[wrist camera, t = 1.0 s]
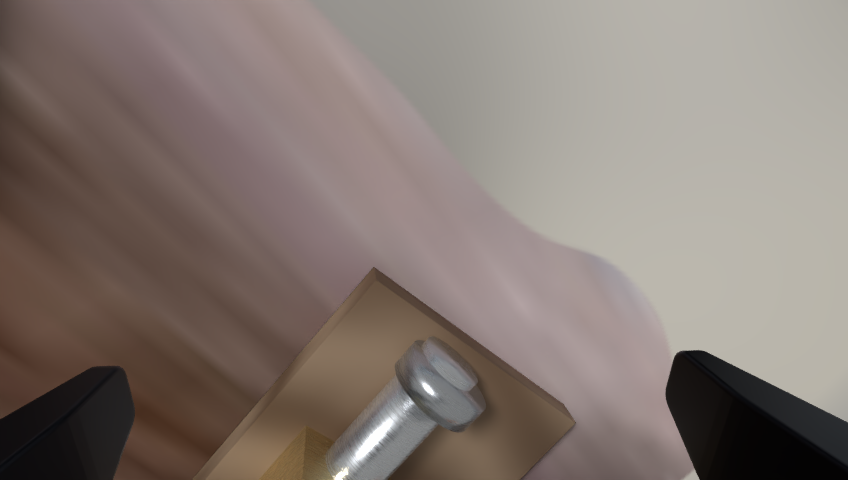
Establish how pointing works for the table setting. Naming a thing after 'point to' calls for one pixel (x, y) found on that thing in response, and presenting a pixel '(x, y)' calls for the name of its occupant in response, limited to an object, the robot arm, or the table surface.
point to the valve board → (369, 371)
